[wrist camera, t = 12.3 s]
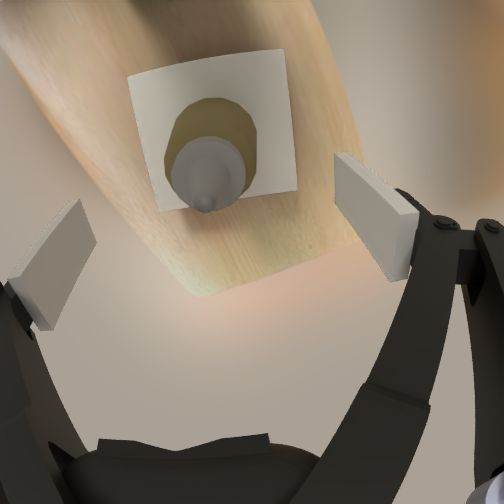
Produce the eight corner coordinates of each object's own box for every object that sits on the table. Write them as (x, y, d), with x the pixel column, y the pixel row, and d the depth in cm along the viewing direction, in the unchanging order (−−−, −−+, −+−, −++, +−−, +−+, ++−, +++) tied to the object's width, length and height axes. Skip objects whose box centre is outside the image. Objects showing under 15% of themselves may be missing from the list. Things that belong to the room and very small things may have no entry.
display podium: (138, 75, 30) (126, 76, 26) (275, 51, 30) (283, 48, 26) (165, 195, 39) (159, 212, 35) (289, 175, 39) (297, 190, 35)
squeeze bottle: (202, 80, 27) (176, 91, 12) (269, 121, 30) (316, 180, 15) (162, 145, 31) (105, 226, 16) (226, 181, 34) (230, 288, 19)
